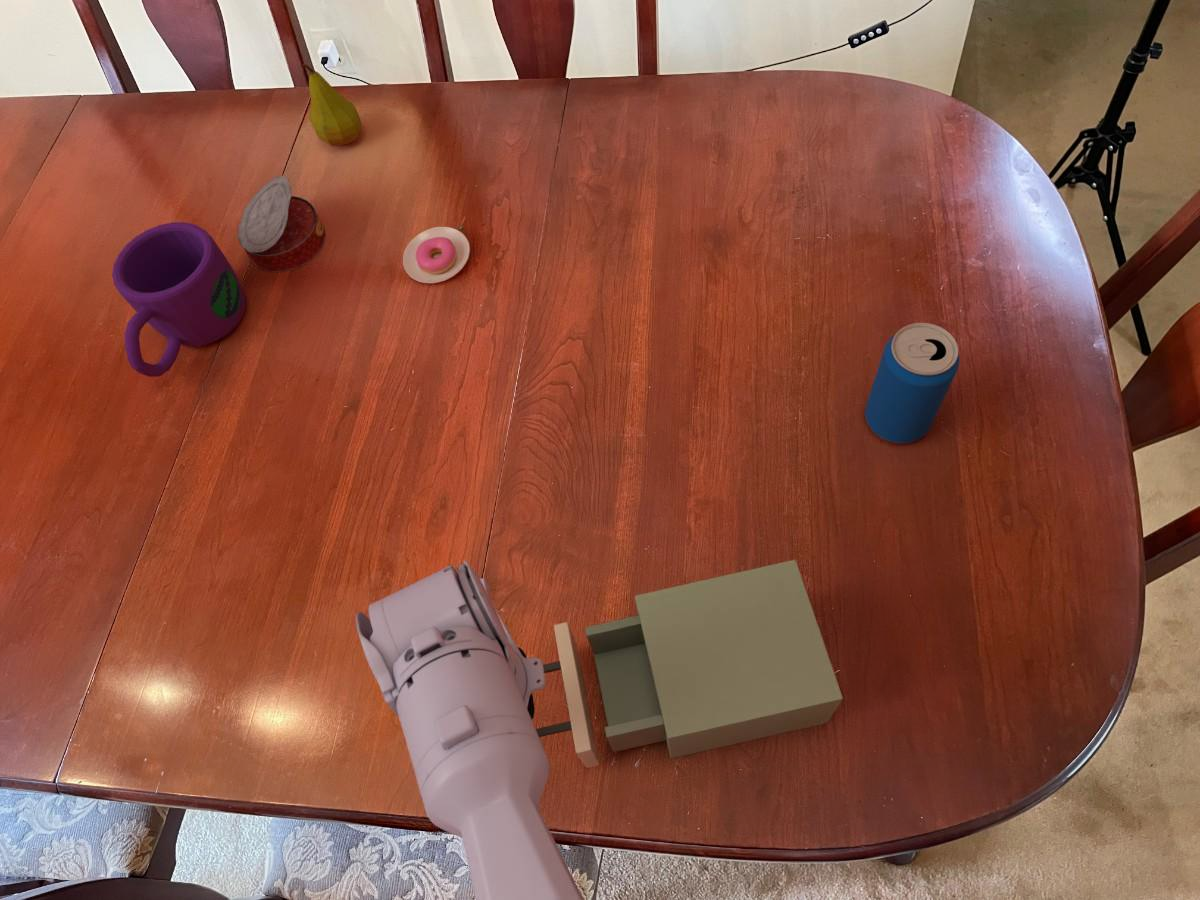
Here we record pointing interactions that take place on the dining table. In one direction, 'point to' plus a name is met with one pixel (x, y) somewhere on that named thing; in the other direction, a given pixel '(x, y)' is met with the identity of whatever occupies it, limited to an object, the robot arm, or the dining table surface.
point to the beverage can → (911, 382)
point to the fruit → (331, 112)
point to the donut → (436, 254)
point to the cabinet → (737, 658)
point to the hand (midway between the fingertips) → (506, 706)
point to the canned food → (280, 228)
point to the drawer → (609, 688)
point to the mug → (176, 291)
